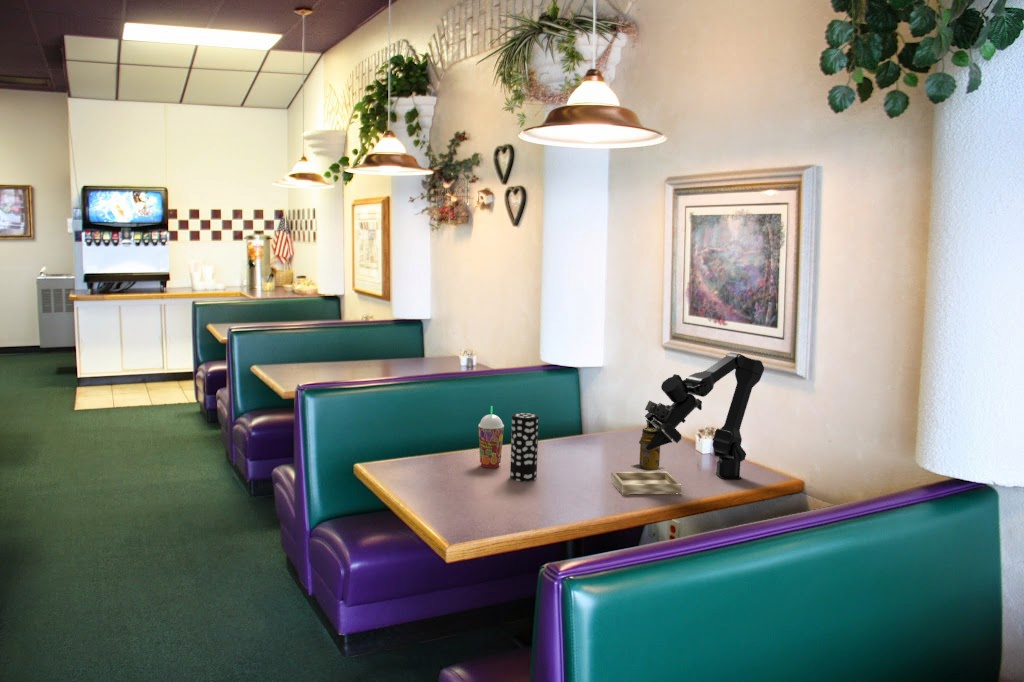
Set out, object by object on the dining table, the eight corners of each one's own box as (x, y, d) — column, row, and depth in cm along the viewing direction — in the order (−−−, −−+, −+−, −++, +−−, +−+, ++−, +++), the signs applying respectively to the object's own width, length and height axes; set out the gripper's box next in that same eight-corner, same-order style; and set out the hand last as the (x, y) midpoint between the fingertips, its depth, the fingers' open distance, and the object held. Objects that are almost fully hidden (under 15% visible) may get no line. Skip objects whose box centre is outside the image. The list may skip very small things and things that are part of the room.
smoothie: (473, 467, 283) (474, 407, 280) (483, 461, 291) (485, 402, 288) (496, 470, 280) (498, 409, 277) (506, 464, 288) (508, 405, 285)
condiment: (665, 468, 264) (667, 430, 263) (644, 472, 260) (646, 433, 258) (648, 463, 270) (650, 425, 269) (628, 466, 266) (629, 428, 264)
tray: (666, 480, 274) (667, 471, 273) (680, 494, 260) (681, 484, 260) (610, 481, 271) (611, 472, 271) (622, 495, 258) (622, 485, 257)
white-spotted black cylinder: (540, 476, 275) (542, 414, 272) (530, 483, 267) (532, 419, 265) (516, 472, 278) (518, 411, 276) (505, 479, 271) (507, 416, 268)
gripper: (652, 386, 272) (617, 421, 271) (673, 398, 254) (635, 436, 253) (675, 410, 274) (640, 445, 274) (697, 424, 256) (659, 461, 256)
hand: (643, 446), depth 264 cm, fingers closed on condiment, 6 cm apart
